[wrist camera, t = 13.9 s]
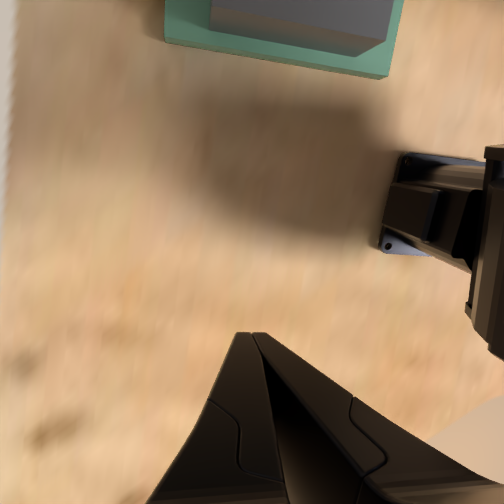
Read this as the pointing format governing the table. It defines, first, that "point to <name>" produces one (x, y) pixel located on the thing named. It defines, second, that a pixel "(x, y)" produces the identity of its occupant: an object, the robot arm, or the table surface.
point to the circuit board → (199, 36)
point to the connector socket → (306, 22)
